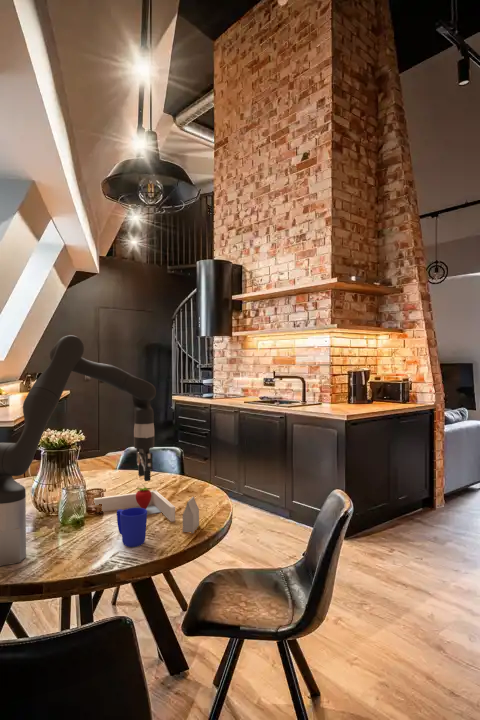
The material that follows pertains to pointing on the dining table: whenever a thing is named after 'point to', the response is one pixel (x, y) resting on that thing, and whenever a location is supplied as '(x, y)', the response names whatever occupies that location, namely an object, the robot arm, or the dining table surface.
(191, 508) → the grey house-shaped block
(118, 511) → the mug
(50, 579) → the dining table surface
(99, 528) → the dining table surface
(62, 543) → the dining table surface
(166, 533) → the dining table surface
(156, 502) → the corner arena
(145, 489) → the strawberry
